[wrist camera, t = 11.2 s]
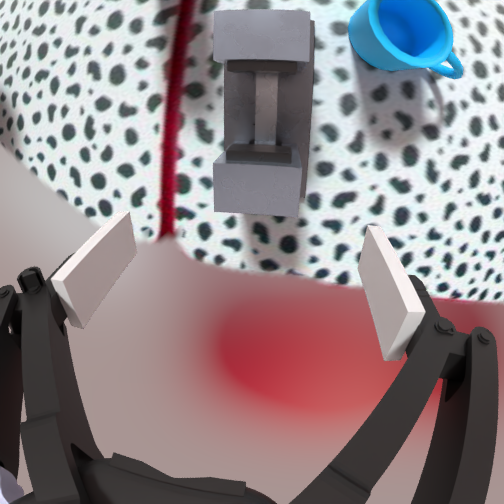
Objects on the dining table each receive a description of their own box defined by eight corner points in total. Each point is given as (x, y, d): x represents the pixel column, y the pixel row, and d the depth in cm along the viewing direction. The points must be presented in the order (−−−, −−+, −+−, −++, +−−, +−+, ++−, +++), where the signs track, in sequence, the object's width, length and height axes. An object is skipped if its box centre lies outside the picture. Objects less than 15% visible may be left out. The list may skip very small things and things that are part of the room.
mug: (336, 46, 23) (353, 33, 17) (363, -8, 19) (385, -32, 12) (428, 103, 25) (465, 111, 18) (451, 51, 21) (491, 48, 14)
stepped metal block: (234, 175, 32) (214, 211, 23) (234, 133, 29) (212, 153, 21) (294, 179, 31) (297, 217, 23) (297, 136, 29) (303, 157, 20)
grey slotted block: (226, 190, 34) (202, 234, 24) (226, 20, 23) (198, -10, 14) (304, 195, 33) (311, 241, 24) (313, 22, 22) (327, -9, 13)
